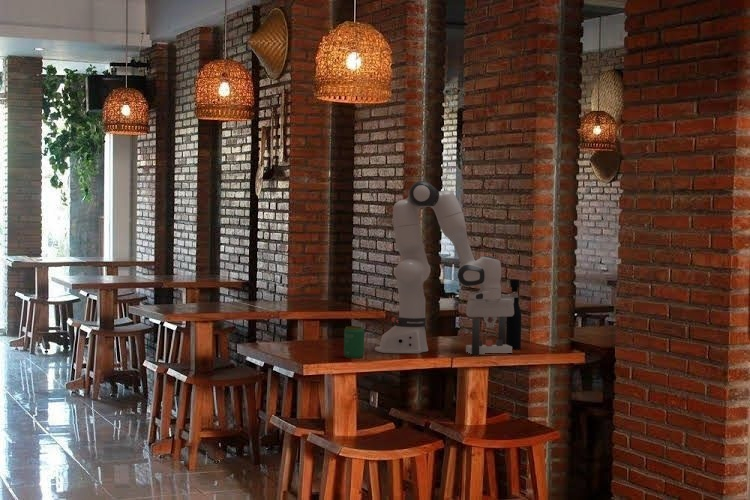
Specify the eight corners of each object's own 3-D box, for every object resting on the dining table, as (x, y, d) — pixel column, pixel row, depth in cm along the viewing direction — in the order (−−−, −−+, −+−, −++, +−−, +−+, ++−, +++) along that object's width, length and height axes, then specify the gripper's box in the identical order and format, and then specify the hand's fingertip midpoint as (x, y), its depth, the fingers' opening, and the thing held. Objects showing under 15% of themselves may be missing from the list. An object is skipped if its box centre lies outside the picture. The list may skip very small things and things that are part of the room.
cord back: (499, 351, 451) (500, 315, 450) (497, 350, 454) (497, 315, 453) (506, 350, 451) (506, 315, 451) (503, 350, 454) (504, 315, 454)
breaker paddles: (476, 346, 442) (476, 340, 442) (475, 345, 443) (475, 339, 443) (502, 345, 445) (502, 340, 444) (501, 345, 446) (501, 339, 446)
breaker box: (470, 354, 439) (471, 347, 439) (465, 352, 446) (466, 345, 445) (512, 353, 443) (512, 346, 442) (506, 351, 449) (506, 344, 449)
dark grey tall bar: (473, 356, 434) (473, 319, 434) (470, 355, 437) (471, 318, 436) (480, 356, 435) (480, 319, 434) (477, 354, 438) (478, 318, 437)
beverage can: (367, 357, 425) (368, 327, 424) (351, 359, 420) (351, 329, 420) (356, 355, 431) (356, 325, 431) (340, 356, 427) (340, 326, 426)
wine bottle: (520, 350, 455) (521, 280, 454) (505, 349, 456) (506, 279, 455) (521, 348, 461) (522, 279, 460) (506, 347, 463) (507, 279, 461)
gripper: (511, 293, 448) (511, 326, 449) (465, 294, 444) (464, 327, 444) (516, 294, 442) (516, 327, 443) (469, 295, 438) (469, 328, 438)
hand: (490, 327), depth 444 cm, fingers closed
